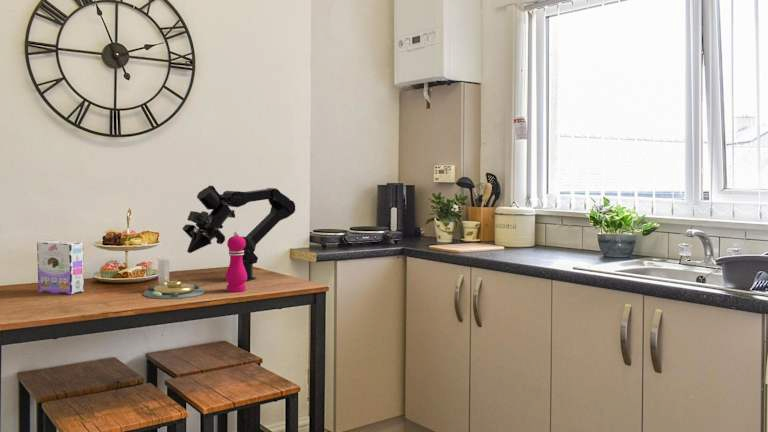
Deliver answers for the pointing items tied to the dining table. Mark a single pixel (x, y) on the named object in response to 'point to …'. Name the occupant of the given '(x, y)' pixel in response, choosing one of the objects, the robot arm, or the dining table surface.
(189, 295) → the tribrach plate
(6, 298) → the dining table surface
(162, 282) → the footscrew wheel
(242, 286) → the pepper mill
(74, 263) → the candy box
